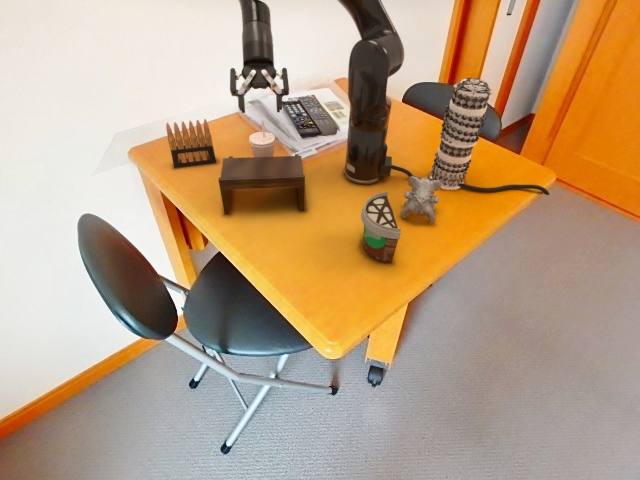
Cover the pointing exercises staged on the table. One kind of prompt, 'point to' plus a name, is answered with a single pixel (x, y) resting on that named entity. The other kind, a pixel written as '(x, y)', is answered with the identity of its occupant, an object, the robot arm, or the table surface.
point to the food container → (379, 229)
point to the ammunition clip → (190, 149)
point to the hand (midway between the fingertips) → (261, 111)
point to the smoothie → (262, 143)
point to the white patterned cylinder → (460, 132)
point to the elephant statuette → (421, 197)
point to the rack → (261, 175)
